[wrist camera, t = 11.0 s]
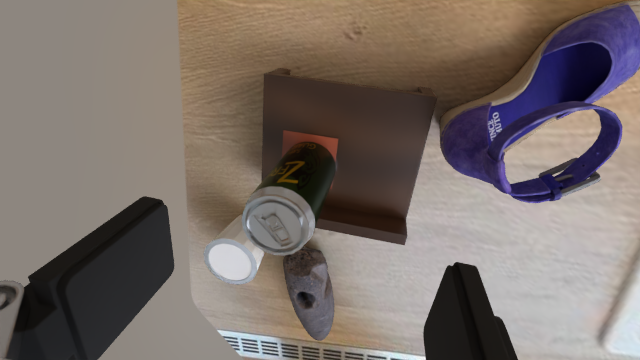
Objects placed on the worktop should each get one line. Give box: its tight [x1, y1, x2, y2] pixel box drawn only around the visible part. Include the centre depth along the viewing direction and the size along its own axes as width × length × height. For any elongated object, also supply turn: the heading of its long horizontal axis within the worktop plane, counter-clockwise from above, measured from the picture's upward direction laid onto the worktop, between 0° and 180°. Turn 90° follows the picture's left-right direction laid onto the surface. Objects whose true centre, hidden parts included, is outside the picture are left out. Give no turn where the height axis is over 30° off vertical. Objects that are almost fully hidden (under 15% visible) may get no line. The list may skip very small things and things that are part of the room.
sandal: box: [439, 0, 640, 203], centre depth 24 cm, size 8×20×15 cm, turn 115°
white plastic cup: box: [204, 214, 265, 285], centre depth 42 cm, size 7×7×7 cm
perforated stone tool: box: [283, 247, 334, 341], centre depth 43 cm, size 15×5×7 cm, turn 10°
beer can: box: [242, 142, 336, 256], centre depth 28 cm, size 5×5×12 cm
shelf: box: [262, 68, 437, 245], centre depth 33 cm, size 14×16×8 cm
